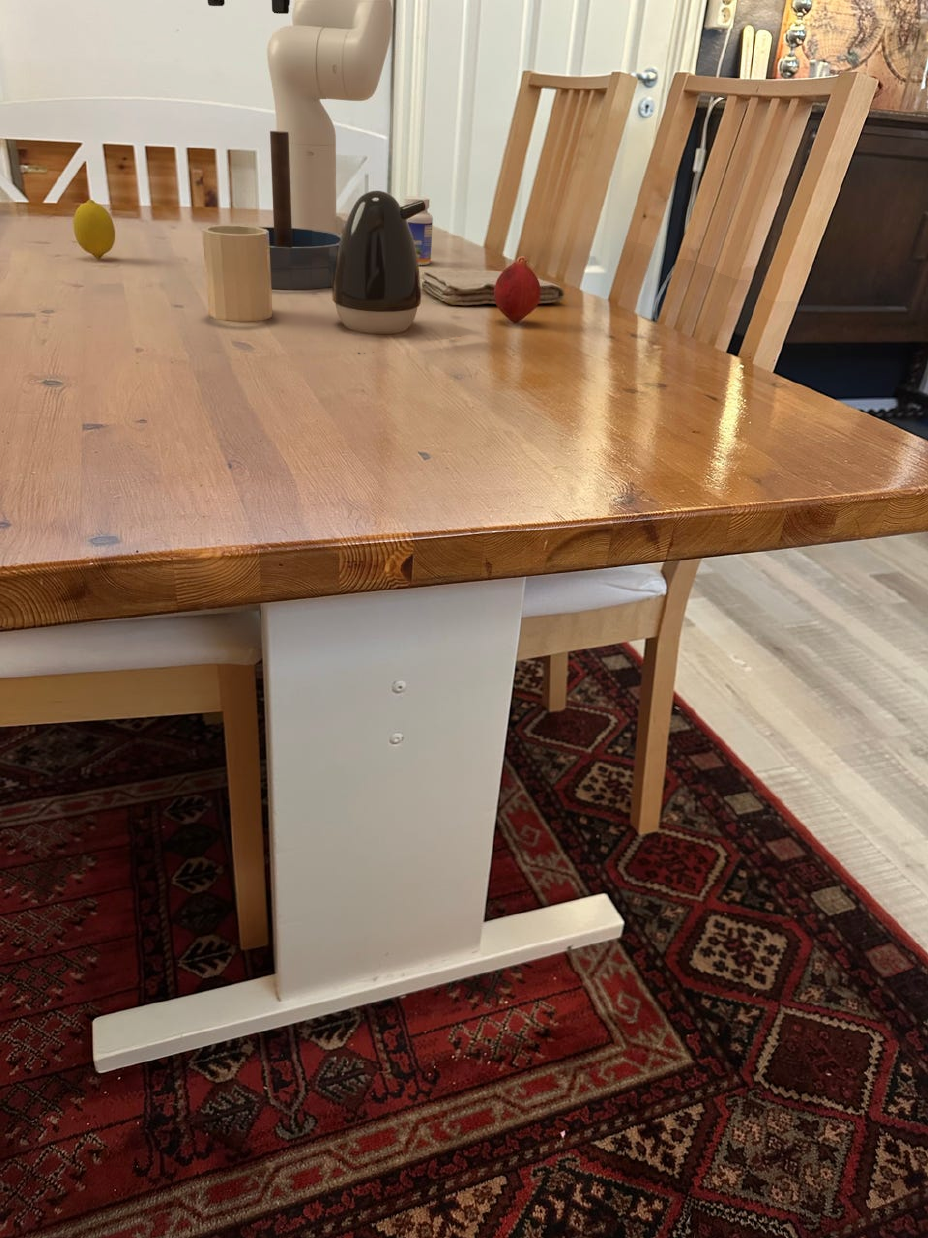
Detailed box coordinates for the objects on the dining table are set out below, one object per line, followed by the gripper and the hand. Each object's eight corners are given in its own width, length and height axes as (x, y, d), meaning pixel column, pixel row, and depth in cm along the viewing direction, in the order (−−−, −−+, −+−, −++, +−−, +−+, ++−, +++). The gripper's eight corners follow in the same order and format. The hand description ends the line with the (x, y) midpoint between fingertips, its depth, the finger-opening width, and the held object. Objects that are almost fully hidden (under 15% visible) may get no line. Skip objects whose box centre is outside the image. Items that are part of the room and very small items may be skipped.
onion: (505, 329, 111) (511, 261, 107) (483, 318, 115) (488, 252, 111) (545, 327, 114) (552, 260, 110) (522, 316, 118) (528, 251, 114)
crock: (251, 311, 111) (246, 223, 105) (284, 324, 106) (280, 233, 101) (198, 317, 106) (190, 226, 101) (229, 330, 102) (223, 236, 97)
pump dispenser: (428, 344, 102) (434, 198, 95) (336, 343, 100) (334, 193, 92) (414, 322, 111) (418, 187, 103) (329, 321, 109) (327, 182, 101)
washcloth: (415, 288, 129) (416, 266, 127) (528, 287, 135) (530, 265, 133) (444, 307, 120) (445, 283, 118) (564, 305, 126) (567, 282, 124)
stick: (287, 274, 128) (282, 130, 118) (296, 277, 126) (292, 132, 117) (272, 275, 126) (266, 130, 117) (281, 278, 125) (276, 132, 116)
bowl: (302, 266, 137) (301, 224, 134) (372, 288, 127) (372, 243, 124) (197, 275, 127) (193, 229, 124) (264, 300, 116) (261, 251, 113)
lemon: (110, 263, 130) (102, 203, 126) (72, 260, 130) (63, 200, 126) (123, 257, 135) (116, 198, 131) (86, 254, 135) (78, 195, 131)
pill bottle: (391, 262, 145) (393, 196, 140) (406, 258, 150) (408, 194, 145) (422, 267, 144) (425, 200, 139) (436, 262, 148) (438, 197, 143)
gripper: (284, -142, 117) (289, 15, 126) (160, -172, 107) (174, 2, 116) (317, -148, 113) (319, 16, 122) (191, -179, 102) (203, 2, 111)
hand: (249, 9), depth 119 cm, fingers open, 9 cm apart
